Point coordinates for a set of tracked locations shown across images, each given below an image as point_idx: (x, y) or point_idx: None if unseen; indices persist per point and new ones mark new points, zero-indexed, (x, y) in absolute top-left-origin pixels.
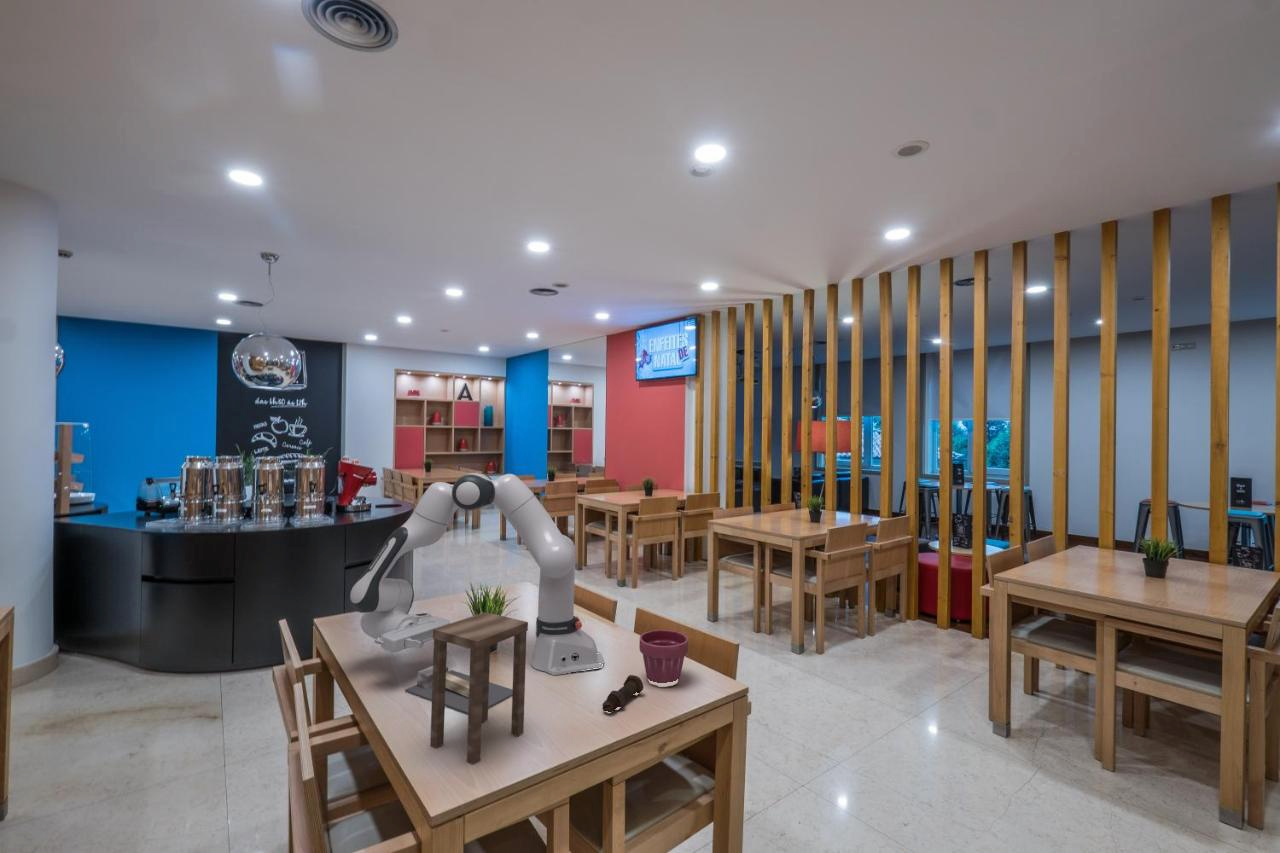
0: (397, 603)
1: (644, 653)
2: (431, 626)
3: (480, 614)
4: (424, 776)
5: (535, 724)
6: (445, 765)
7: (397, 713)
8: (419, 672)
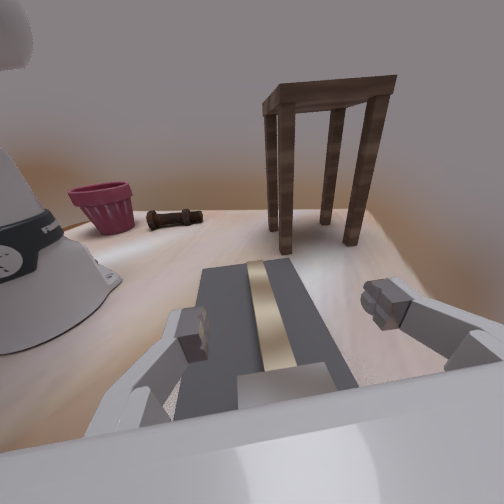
0: None
1: (123, 197)
2: (201, 478)
3: (294, 83)
4: (369, 225)
5: (250, 231)
6: None
7: None
8: None
